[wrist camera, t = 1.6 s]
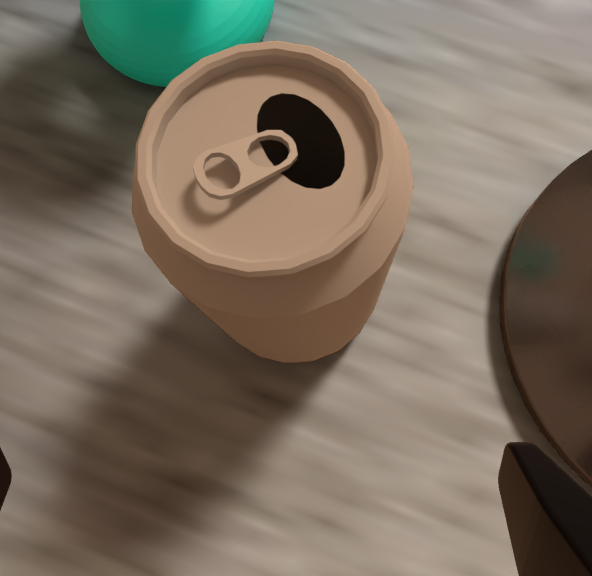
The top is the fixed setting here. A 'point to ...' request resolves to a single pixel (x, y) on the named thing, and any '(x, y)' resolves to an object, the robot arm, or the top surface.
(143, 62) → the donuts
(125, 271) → the top surface
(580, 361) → the duct stub
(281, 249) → the can
